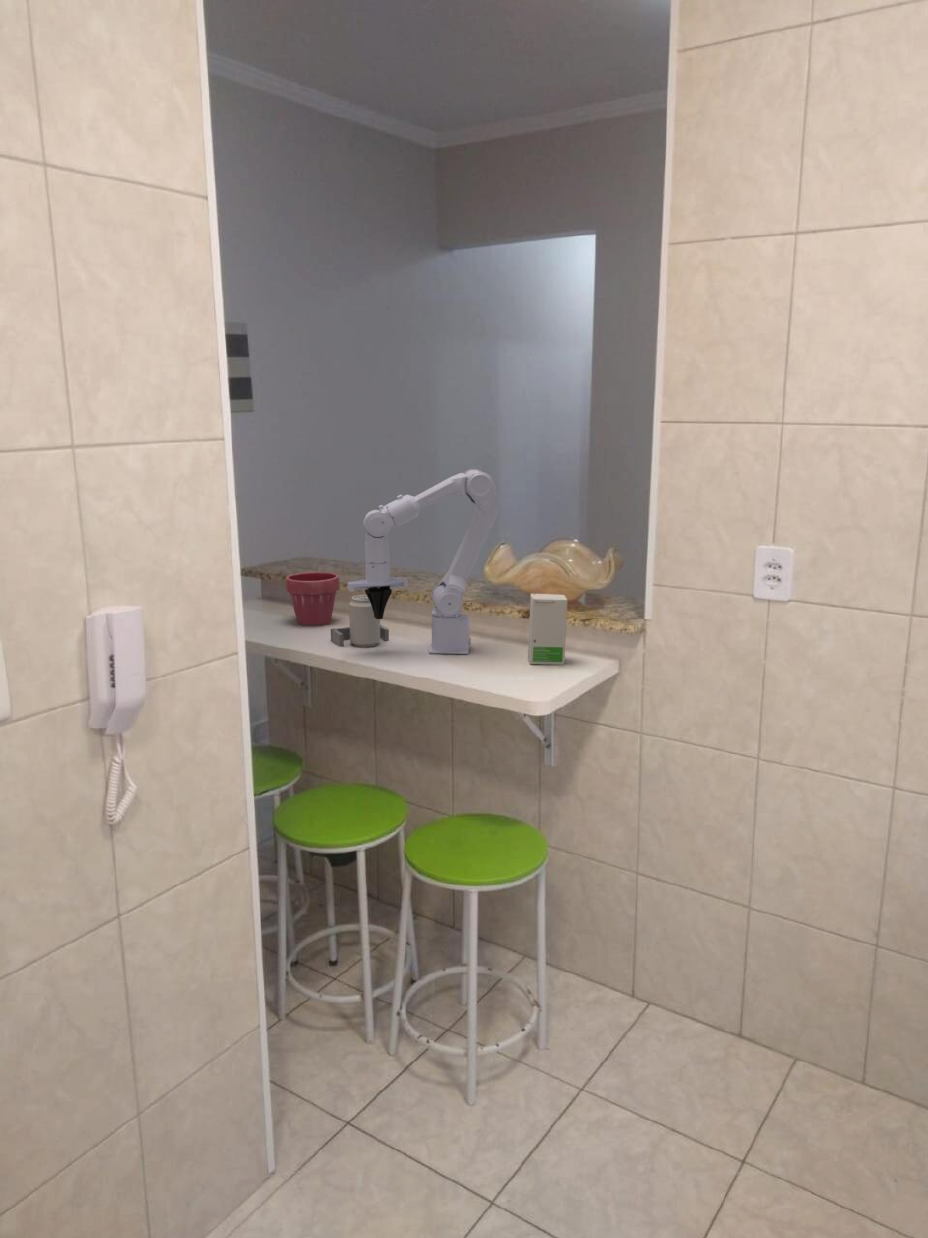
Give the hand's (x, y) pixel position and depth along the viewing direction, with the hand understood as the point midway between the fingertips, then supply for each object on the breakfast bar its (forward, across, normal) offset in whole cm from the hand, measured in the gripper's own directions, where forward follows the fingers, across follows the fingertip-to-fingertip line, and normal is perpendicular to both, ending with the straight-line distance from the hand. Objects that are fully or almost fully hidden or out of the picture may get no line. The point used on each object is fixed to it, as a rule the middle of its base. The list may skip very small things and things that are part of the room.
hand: (378, 618), depth 226 cm
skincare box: (+9, -32, +24) cm, 41 cm away
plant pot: (+9, +4, -37) cm, 38 cm away
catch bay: (+9, 0, -13) cm, 15 cm away
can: (+9, 0, -9) cm, 13 cm away
